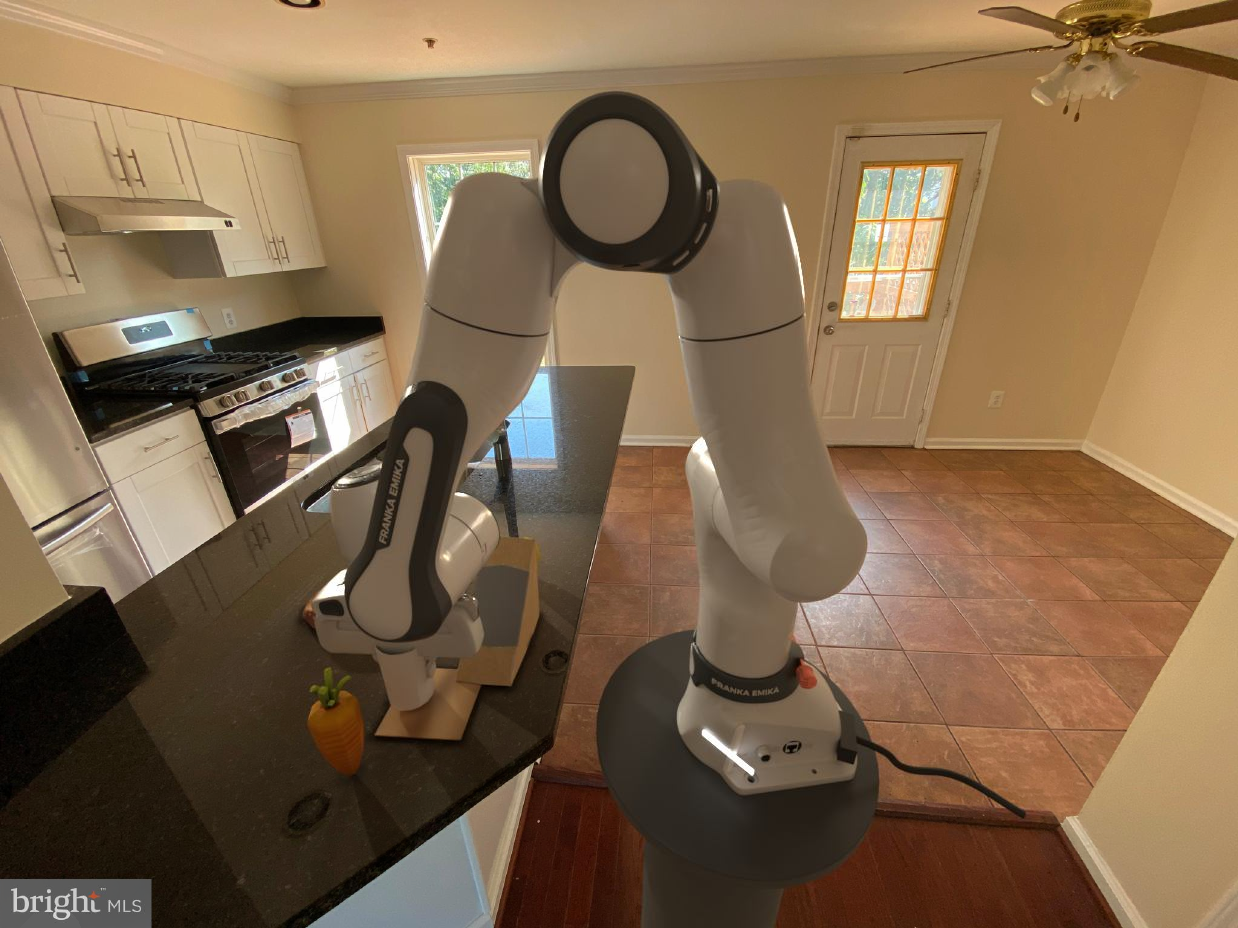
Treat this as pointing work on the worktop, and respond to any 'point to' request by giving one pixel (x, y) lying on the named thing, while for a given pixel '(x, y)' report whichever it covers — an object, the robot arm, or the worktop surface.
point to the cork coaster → (435, 711)
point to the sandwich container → (504, 612)
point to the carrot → (337, 725)
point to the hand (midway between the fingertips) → (411, 673)
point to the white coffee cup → (406, 679)
